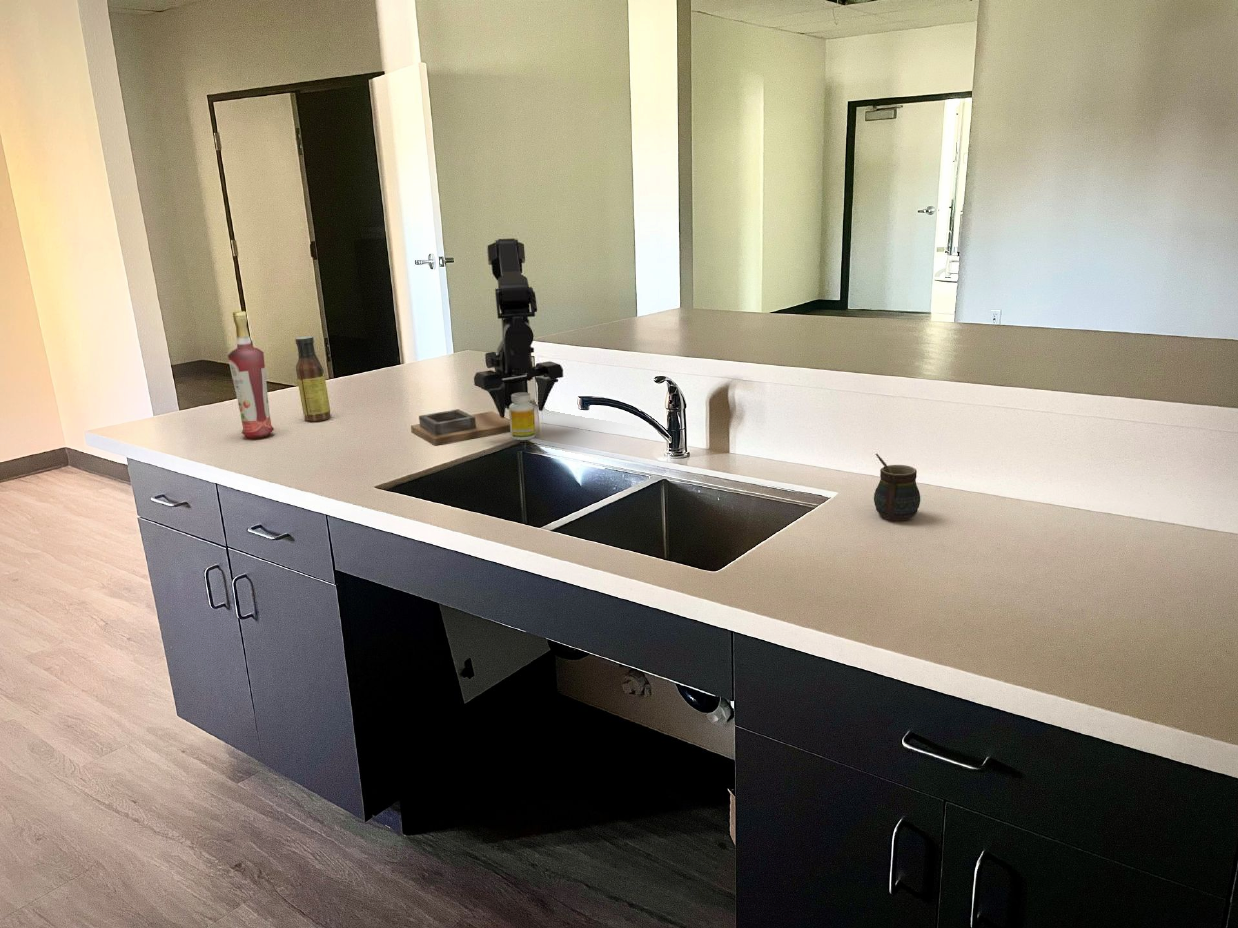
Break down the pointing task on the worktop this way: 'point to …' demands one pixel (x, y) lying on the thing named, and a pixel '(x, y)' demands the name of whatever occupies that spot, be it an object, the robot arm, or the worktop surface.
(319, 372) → the sauce bottle
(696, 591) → the worktop surface
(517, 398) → the supplement bottle
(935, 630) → the worktop surface
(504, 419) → the socket board
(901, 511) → the mate gourd
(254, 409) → the liquor
